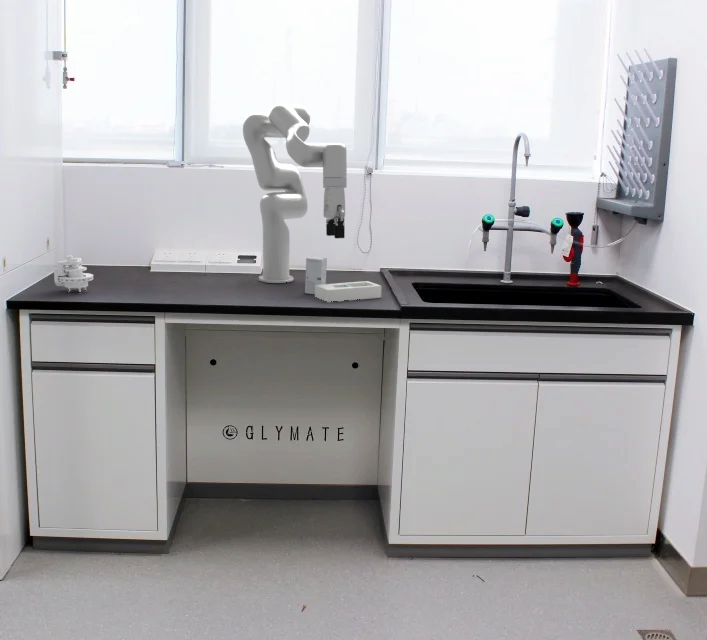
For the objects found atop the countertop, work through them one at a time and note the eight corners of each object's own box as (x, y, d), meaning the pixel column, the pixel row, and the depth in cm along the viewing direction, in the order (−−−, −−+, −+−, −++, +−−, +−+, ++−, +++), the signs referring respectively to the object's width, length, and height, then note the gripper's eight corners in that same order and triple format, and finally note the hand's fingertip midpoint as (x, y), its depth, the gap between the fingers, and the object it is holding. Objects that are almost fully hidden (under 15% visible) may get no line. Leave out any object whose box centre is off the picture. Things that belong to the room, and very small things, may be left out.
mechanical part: (82, 296, 253) (80, 259, 250) (48, 293, 255) (46, 257, 252) (100, 289, 263) (99, 254, 261) (67, 287, 266) (65, 252, 263)
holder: (315, 297, 261) (315, 285, 260) (367, 292, 270) (367, 281, 270) (327, 302, 253) (327, 290, 252) (380, 297, 263) (381, 285, 262)
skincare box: (304, 293, 266) (304, 257, 263) (310, 291, 270) (310, 256, 267) (320, 295, 264) (321, 259, 261) (326, 293, 268) (327, 257, 265)
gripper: (316, 182, 260) (317, 235, 263) (330, 184, 244) (331, 239, 247) (338, 182, 262) (339, 234, 266) (354, 183, 246) (354, 238, 249)
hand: (335, 236), depth 256 cm, fingers open, 9 cm apart
